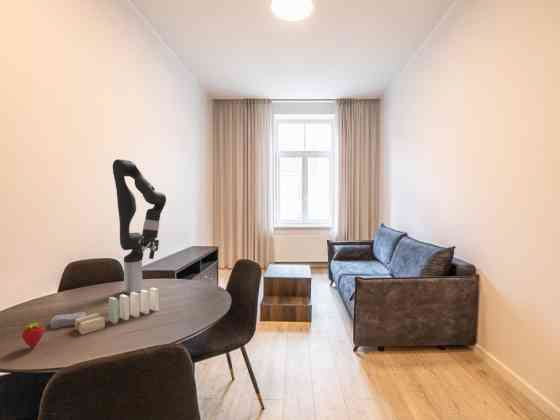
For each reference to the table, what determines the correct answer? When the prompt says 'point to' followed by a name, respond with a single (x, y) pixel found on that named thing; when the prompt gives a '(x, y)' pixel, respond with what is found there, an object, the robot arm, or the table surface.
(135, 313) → the domino
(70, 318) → the stone block
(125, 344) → the table surface
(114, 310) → the domino
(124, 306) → the domino
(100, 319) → the stop block
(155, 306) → the domino
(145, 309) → the domino
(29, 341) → the strawberry
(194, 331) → the table surface
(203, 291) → the table surface
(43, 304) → the table surface
